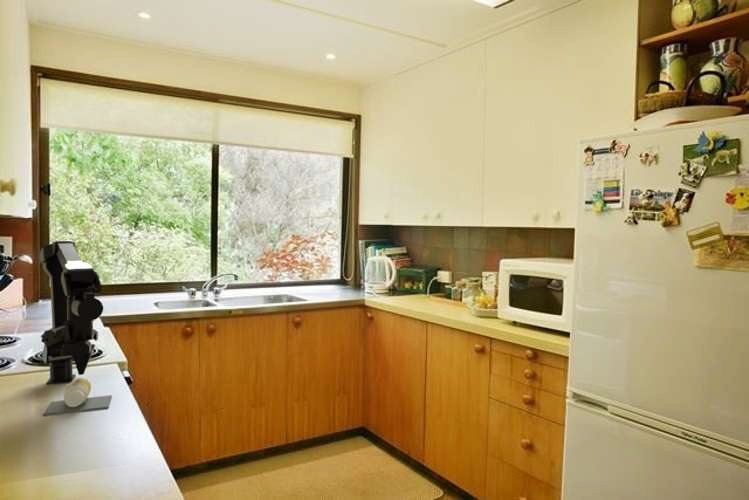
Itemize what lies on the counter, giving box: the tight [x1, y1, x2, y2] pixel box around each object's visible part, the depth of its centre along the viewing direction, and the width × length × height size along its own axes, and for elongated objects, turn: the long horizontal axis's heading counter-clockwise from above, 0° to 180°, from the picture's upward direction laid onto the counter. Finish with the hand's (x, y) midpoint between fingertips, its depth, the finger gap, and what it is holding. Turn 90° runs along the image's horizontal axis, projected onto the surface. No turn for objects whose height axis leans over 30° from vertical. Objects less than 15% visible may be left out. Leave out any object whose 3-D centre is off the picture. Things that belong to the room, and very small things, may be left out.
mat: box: [42, 394, 113, 417], centre depth 129 cm, size 9×14×1 cm, turn 113°
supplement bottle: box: [63, 377, 92, 407], centre depth 129 cm, size 5×5×10 cm
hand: (81, 374), depth 132 cm, fingers closed
